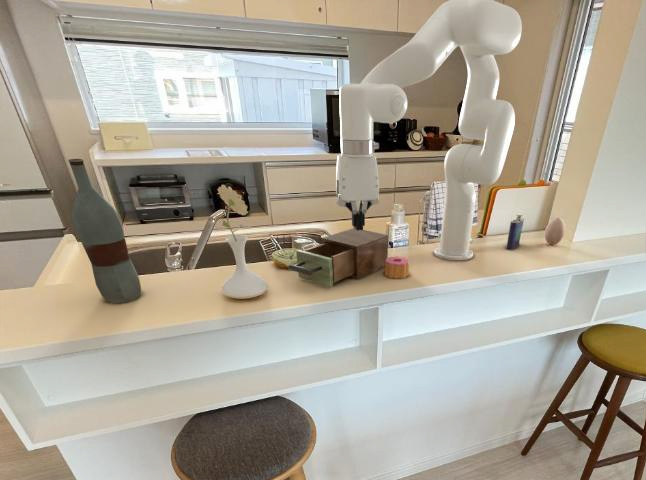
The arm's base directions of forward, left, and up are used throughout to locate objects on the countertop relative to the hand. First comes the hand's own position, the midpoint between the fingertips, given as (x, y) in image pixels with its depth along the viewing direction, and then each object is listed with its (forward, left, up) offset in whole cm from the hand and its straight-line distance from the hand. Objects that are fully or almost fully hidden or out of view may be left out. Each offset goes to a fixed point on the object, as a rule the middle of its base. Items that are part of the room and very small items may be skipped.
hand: (358, 228), depth 108 cm
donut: (-10, +6, -14) cm, 18 cm away
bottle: (+46, -38, -14) cm, 61 cm away
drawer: (+7, -7, -13) cm, 16 cm away
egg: (-71, +32, -14) cm, 80 cm away
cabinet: (-7, -7, -14) cm, 17 cm away
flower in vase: (+26, -17, -14) cm, 34 cm away
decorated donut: (+3, -24, -14) cm, 28 cm away
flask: (-59, +22, -14) cm, 65 cm away
